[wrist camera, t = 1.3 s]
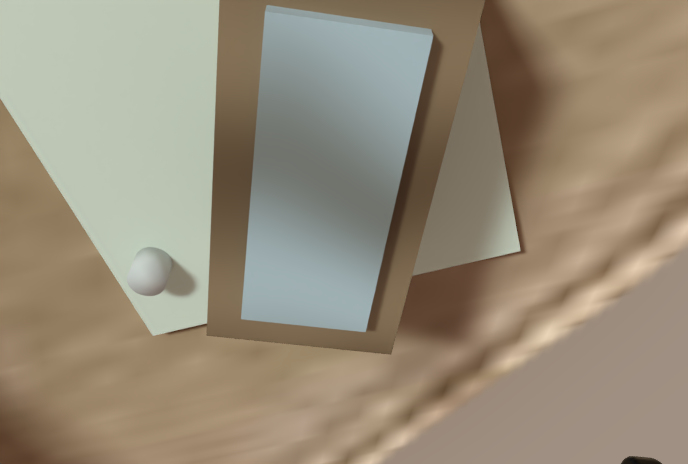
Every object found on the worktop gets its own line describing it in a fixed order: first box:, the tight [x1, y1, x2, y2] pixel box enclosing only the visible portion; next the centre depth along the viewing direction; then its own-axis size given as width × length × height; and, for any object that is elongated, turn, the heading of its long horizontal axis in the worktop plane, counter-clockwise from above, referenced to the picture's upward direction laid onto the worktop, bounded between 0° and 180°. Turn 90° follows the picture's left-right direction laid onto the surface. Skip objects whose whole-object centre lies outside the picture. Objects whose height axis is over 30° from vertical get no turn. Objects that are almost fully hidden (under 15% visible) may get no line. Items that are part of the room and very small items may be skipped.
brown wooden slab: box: [207, 0, 485, 354], centre depth 16 cm, size 10×5×5 cm, turn 172°
